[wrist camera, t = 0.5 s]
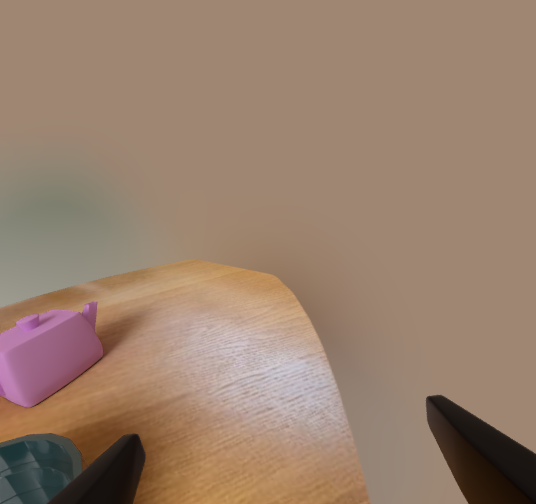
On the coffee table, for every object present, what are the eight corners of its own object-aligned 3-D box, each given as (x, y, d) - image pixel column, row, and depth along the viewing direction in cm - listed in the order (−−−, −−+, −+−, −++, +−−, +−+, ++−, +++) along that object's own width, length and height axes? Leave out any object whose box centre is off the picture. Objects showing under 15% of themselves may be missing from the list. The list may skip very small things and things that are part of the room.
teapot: (94, 334, 52) (73, 287, 49) (129, 341, 47) (109, 289, 44) (-32, 413, 37) (-74, 352, 34) (1, 434, 32) (-44, 365, 29)
